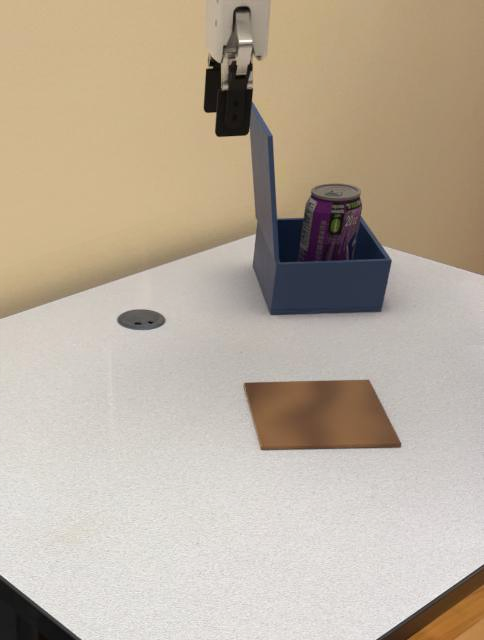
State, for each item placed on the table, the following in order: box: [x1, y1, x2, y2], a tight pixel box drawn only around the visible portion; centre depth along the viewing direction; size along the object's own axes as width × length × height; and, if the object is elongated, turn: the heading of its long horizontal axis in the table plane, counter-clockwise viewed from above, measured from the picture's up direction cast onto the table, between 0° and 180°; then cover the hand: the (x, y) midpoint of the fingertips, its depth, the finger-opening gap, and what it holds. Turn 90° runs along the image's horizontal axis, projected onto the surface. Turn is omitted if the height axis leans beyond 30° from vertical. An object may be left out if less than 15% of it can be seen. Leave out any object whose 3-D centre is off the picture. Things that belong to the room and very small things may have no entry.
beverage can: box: [298, 182, 363, 262], centre depth 118 cm, size 7×7×12 cm
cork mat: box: [243, 379, 402, 450], centre depth 96 cm, size 14×14×1 cm
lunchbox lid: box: [249, 101, 279, 261], centre depth 114 cm, size 15×17×1 cm
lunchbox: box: [252, 216, 393, 316], centre depth 120 cm, size 14×17×7 cm
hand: (225, 123), depth 90 cm, fingers open, 9 cm apart
